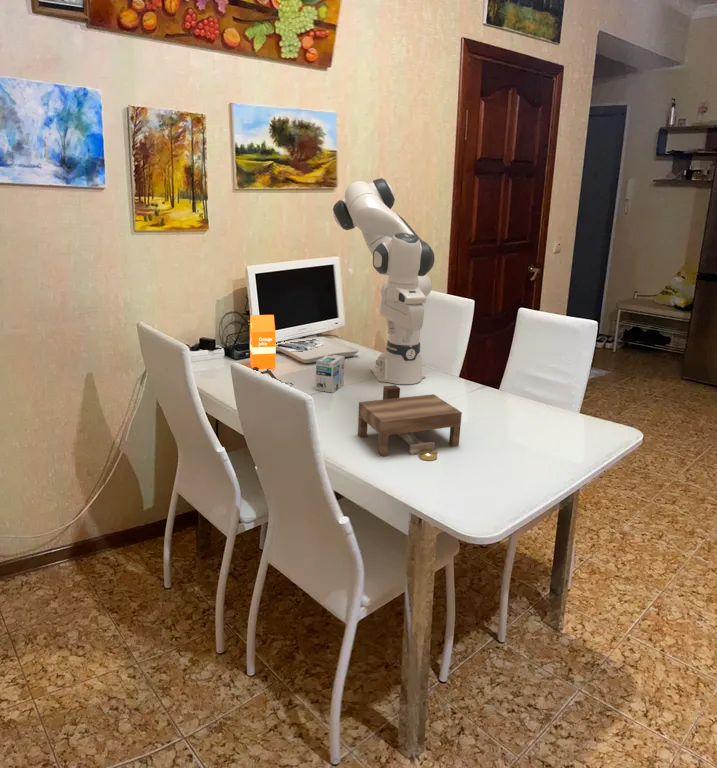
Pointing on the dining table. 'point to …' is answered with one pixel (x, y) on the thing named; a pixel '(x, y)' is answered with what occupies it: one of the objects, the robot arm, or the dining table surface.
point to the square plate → (319, 350)
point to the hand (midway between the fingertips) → (398, 338)
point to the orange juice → (262, 341)
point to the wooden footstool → (408, 418)
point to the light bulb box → (330, 373)
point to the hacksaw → (268, 372)
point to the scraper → (410, 438)
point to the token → (427, 454)
